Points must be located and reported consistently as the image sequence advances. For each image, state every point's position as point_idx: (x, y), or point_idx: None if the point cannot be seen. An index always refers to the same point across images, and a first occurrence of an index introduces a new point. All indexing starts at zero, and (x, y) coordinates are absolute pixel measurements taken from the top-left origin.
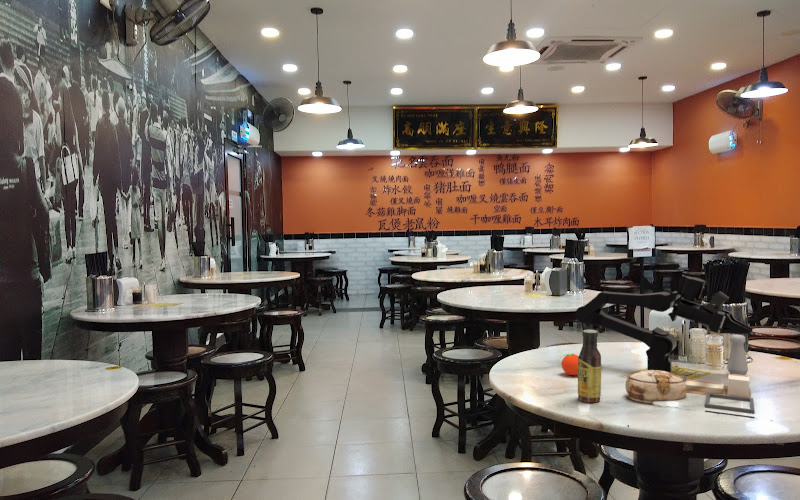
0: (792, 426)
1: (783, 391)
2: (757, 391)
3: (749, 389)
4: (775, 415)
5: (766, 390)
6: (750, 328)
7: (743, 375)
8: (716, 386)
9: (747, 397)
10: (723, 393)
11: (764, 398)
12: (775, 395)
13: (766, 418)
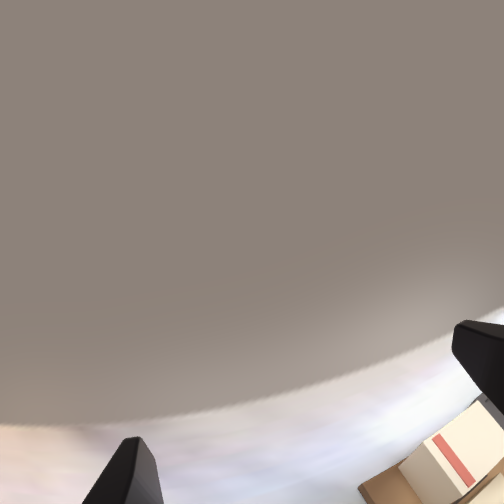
0: (485, 317)
1: (242, 429)
2: (314, 482)
3: (373, 478)
4: None
5: (274, 469)
6: (138, 453)
7: (442, 449)
8: (497, 500)
9: None
10: (484, 484)
11: (378, 433)
12: (315, 429)
13: None
